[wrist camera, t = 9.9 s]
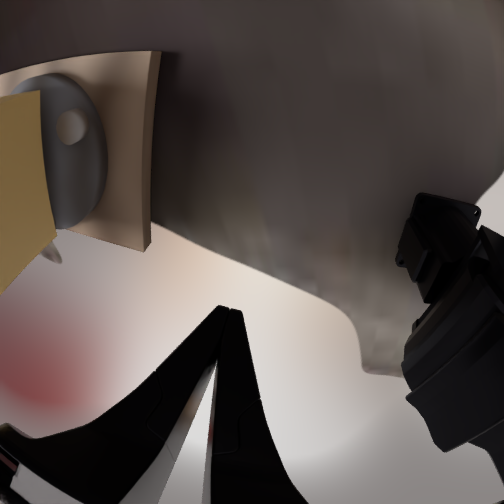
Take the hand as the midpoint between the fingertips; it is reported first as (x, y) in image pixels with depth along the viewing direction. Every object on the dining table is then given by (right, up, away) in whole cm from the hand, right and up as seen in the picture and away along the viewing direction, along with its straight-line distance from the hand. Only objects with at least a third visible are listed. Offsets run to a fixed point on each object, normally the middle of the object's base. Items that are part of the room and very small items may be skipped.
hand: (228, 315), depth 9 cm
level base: (-16, +12, +10) cm, 22 cm away
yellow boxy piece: (-17, +9, +7) cm, 20 cm away
